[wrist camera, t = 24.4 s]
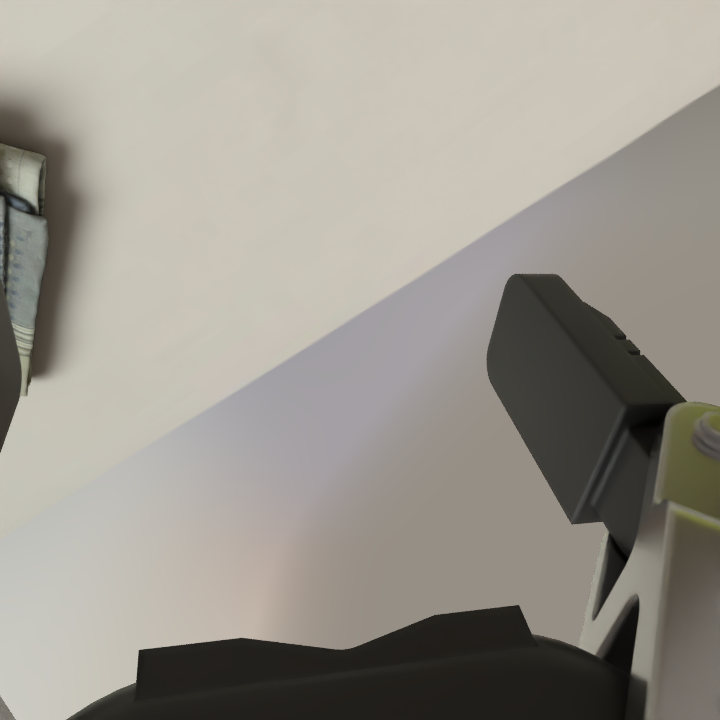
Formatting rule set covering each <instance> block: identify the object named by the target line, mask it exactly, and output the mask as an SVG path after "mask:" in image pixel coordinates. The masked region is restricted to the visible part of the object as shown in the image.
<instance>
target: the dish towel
mask: <svg viewBox="0 0 720 720" xmlns="http://www.w3.org/2000/svg"><path fill="white" fill-rule="evenodd" d="M46 171H47V169H46V157H45V156H43V155H41V154H38V153H35V152H31V151H27V150H22V149H19V148H16V147H12V146H8V145H5V144H2V143H0V279H1V282H2V285H3V288H4V293H5V297H6V301H7V305H8V309H9V313H10V318H11V322H12V326H13V330H14V334H15V339H16V343H17V347H18V351H19V355H20V360H21V369H22V385H21V393H20V396H27V392H28V386H29V385H30V383H31V370H32V368H31V361H32V353H33V339H34V331H35V317H36V314H37V304H38V299H39V295H40V289H41V282H42V277H43V273H44V269H45V266H46V256H47V248H48V244H49V236H48V221H47V220H46V219H45V218H44V217H43V209H44V196H45V178H46Z"/></svg>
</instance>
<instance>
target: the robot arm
mask: <svg viewBox="0 0 720 720" xmlns="http://www.w3.org/2000/svg"><path fill="white" fill-rule="evenodd" d="M487 371H488V376H489V379H490V382H491V384H492V386H493V388H494V390H495V391H496V393H497V395H498V397H499V398H500V400H501V402H502V403H503V405H504V407H505V408H506V411H507V412H508V414H509V416H510V418H511V419H512V421H513V422H514V424H515V426H516V428H517V430H518V431H519V433H520V435H521V437H522V438H523V440H524V442H525V444H526V445H527V447H528V449H529V451H530V452H531V454H532V456H533V458H534V459H535V461H536V463H537V465H538V466H539V468H540V470H541V472H542V473H543V475H544V477H545V479H546V480H547V482H548V484H549V485H550V487H551V489H552V491H553V493H554V494H555V496H556V498H557V500H558V501H559V503H560V505H561V507H562V508H563V510H564V512H565V514H566V515H567V517H568V519H569V520H570V522H571V524H582V523H593V522H604V524H605V526H606V528H607V529H608V530H607V532H606V534H605V536H604V538H603V540H602V542H601V545H600V548H599V553H598V558H597V563H596V567H595V571H594V576H593V581H592V585H591V590H590V595H589V599H588V603H587V608H586V613H585V617H584V622H583V627H582V631H581V635H580V639H579V642H578V646H577V647H576V646H573V645H570V644H567V643H565V642H562V641H559V640H555V639H551V638H548V637H544V636H539V635H533V634H531V632H530V629H529V627H528V625H527V623H526V620H525V618H524V616H523V613H522V611H521V609H520V607H519V605H516V606H507V607H500V608H490V609H482V610H474V611H465V612H457V613H449V614H440V615H434V616H431V617H429V618H426V619H424V620H422V621H419V622H417V623H414V624H411V625H409V626H407V627H404V628H402V629H399V630H397V631H394V632H392V633H389V634H387V635H384V636H382V637H379V638H377V639H374V640H372V641H370V642H367V643H364V644H362V645H360V646H357V647H354V648H351V649H345V650H335V649H326V648H318V647H311V646H302V645H295V644H287V643H279V642H271V641H261V640H254V639H246V638H238V639H229V640H221V641H212V642H203V643H195V644H186V645H179V646H170V647H161V648H153V649H144V650H139V656H138V668H137V680H136V683H134V684H131V685H129V686H127V687H124V688H121V689H119V690H117V691H115V692H113V693H111V694H109V695H107V696H105V697H103V698H101V699H99V700H97V701H95V702H93V703H91V704H90V705H88V706H87V707H85V708H84V709H82V710H81V711H79V712H77V713H76V714H75V715H73V716H71V717H70V718H68V719H67V720H720V407H719V406H715V405H712V404H707V403H701V402H687V401H686V400H685V399H684V398H683V397H682V396H681V395H680V393H679V392H678V391H677V390H676V389H675V388H674V387H673V386H672V385H671V384H670V383H669V382H668V380H666V378H665V377H664V376H663V375H662V374H661V373H660V372H659V371H658V370H657V369H656V368H655V366H654V365H653V364H652V363H651V362H650V361H649V360H648V359H647V358H646V357H645V356H644V355H640V350H639V349H638V348H637V347H636V346H635V345H634V344H633V343H632V342H631V341H630V340H626V335H625V334H624V333H623V332H622V331H621V330H620V329H619V328H618V327H617V326H616V324H614V322H613V321H612V320H611V319H610V318H609V317H607V316H606V315H604V314H602V313H601V312H599V311H598V310H596V309H595V308H593V307H591V306H590V305H588V304H587V303H585V302H583V301H582V300H581V299H580V298H579V297H578V296H577V295H576V294H575V293H574V291H573V290H572V289H571V288H570V287H569V286H568V285H567V284H566V283H565V281H564V280H563V279H562V278H561V277H560V276H558V275H556V274H514V275H512V276H511V277H510V278H509V280H508V281H507V283H506V285H505V289H504V292H503V296H502V299H501V303H500V307H499V310H498V314H497V317H496V321H495V325H494V328H493V332H492V335H491V339H490V343H489V346H488V351H487ZM21 385H22V369H21V360H20V355H19V351H18V347H17V343H16V339H15V334H14V330H13V326H12V322H11V318H10V313H9V309H8V305H7V301H6V297H5V293H4V288H3V285H2V282H1V279H0V452H1V449H2V447H3V444H4V441H5V438H6V435H7V432H8V429H9V427H10V424H11V421H12V418H13V415H14V412H15V409H16V407H17V404H18V401H19V397H20V393H21ZM0 720H16V719H15V718H14V716H13V715H12V713H11V712H10V710H9V709H8V707H7V706H6V705H5V703H4V701H3V700H2V698H1V697H0Z"/></svg>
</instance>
